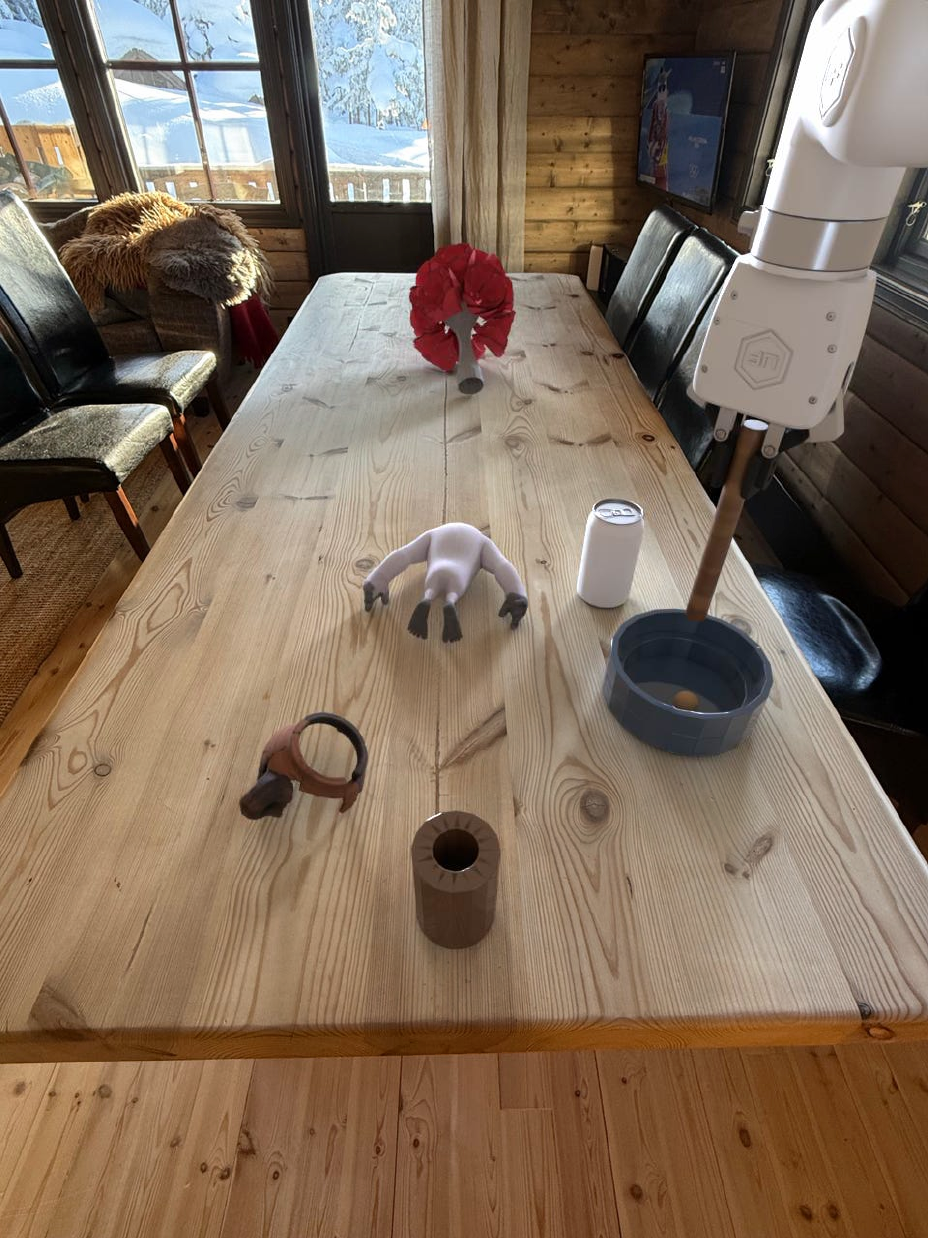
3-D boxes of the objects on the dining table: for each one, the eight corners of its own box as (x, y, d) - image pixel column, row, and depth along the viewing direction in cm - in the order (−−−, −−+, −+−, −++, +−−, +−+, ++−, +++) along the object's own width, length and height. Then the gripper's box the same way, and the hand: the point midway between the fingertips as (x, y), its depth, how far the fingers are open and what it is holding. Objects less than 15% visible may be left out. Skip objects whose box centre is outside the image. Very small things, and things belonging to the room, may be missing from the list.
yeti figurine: (507, 671, 74) (545, 568, 88) (515, 628, 69) (554, 527, 84) (347, 624, 77) (408, 532, 91) (344, 580, 73) (410, 490, 87)
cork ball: (695, 722, 66) (701, 706, 64) (671, 717, 66) (676, 701, 65) (695, 704, 67) (700, 688, 66) (671, 700, 68) (676, 684, 66)
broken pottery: (292, 733, 66) (325, 686, 61) (359, 801, 65) (398, 757, 60) (197, 805, 56) (227, 754, 51) (275, 885, 55) (313, 842, 50)
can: (571, 579, 84) (582, 497, 76) (620, 576, 85) (637, 494, 77) (583, 611, 79) (597, 527, 71) (635, 608, 80) (655, 524, 72)
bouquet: (524, 416, 137) (505, 303, 147) (534, 332, 115) (511, 206, 125) (421, 426, 137) (409, 312, 146) (411, 345, 114) (397, 217, 124)
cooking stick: (706, 623, 64) (770, 431, 51) (685, 620, 65) (743, 428, 51) (705, 610, 66) (767, 420, 53) (684, 607, 66) (741, 417, 53)
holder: (485, 959, 49) (489, 901, 43) (406, 938, 50) (399, 880, 44) (502, 881, 54) (507, 820, 48) (428, 864, 55) (425, 802, 49)
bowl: (761, 774, 62) (781, 733, 58) (596, 742, 64) (605, 701, 60) (747, 661, 73) (764, 621, 69) (608, 639, 76) (616, 598, 72)
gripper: (678, 232, 46) (631, 470, 58) (926, 275, 37) (811, 543, 50) (728, 216, 50) (675, 442, 62) (963, 253, 42) (848, 505, 54)
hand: (736, 485), depth 56 cm, fingers closed on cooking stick, 2 cm apart
